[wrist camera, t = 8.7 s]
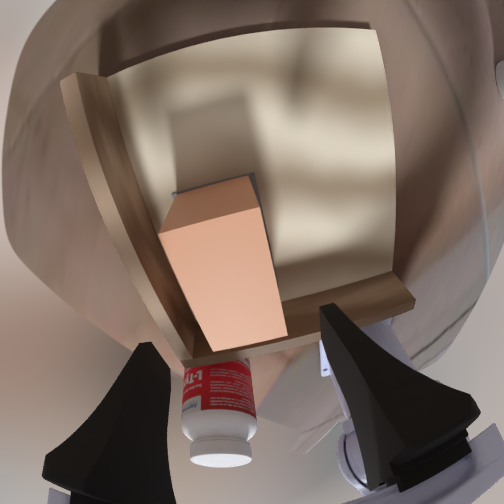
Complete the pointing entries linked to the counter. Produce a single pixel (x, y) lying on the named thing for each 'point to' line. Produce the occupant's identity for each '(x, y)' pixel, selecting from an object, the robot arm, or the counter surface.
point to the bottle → (500, 77)
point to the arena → (252, 170)
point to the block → (224, 263)
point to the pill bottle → (219, 413)
